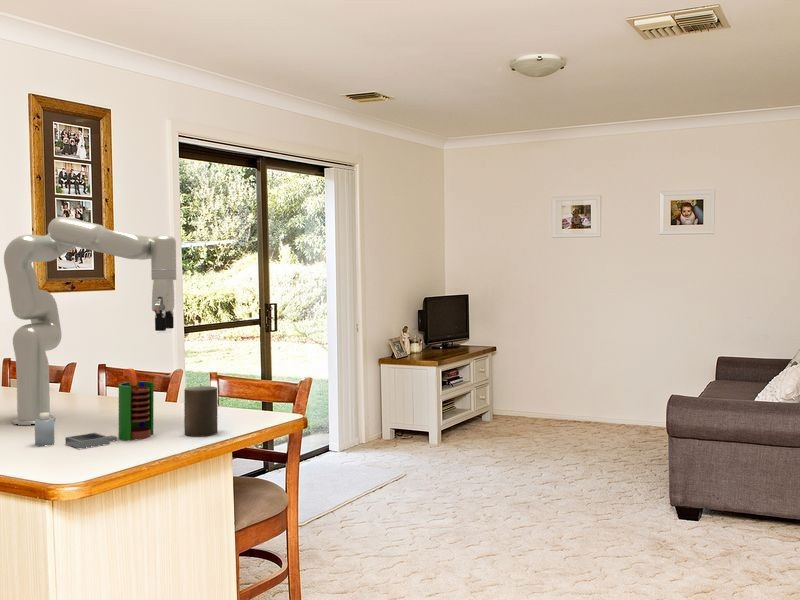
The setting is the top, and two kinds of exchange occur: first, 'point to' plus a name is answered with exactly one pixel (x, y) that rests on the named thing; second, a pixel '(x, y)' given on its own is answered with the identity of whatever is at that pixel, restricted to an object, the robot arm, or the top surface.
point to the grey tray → (88, 440)
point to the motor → (135, 408)
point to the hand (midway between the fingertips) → (164, 329)
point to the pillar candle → (200, 411)
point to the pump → (44, 430)
